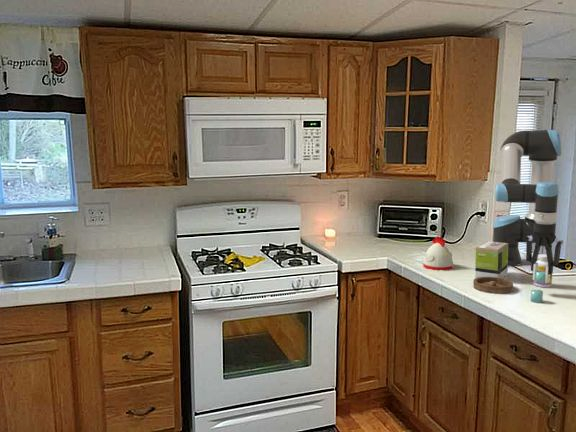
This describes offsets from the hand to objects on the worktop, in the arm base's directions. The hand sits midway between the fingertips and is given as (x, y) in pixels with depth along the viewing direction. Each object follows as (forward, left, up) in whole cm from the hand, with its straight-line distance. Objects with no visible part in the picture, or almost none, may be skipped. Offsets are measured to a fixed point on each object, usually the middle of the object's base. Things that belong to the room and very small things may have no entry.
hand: (541, 280), depth 192 cm
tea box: (-10, -25, -6) cm, 28 cm away
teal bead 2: (+10, +2, -6) cm, 11 cm away
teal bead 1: (0, 0, -1) cm, 1 cm away
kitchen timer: (-9, -51, -6) cm, 52 cm away
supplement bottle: (-12, -4, -6) cm, 14 cm away
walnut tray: (+5, -17, -6) cm, 18 cm away
